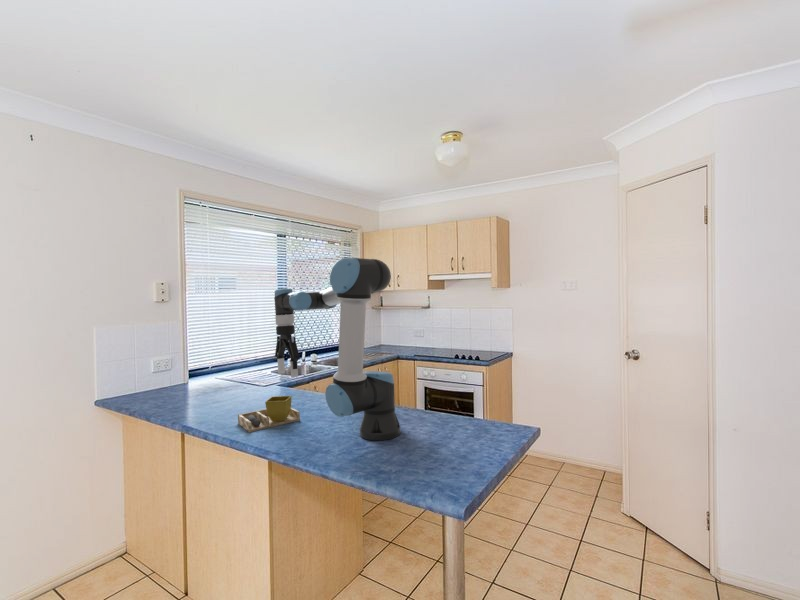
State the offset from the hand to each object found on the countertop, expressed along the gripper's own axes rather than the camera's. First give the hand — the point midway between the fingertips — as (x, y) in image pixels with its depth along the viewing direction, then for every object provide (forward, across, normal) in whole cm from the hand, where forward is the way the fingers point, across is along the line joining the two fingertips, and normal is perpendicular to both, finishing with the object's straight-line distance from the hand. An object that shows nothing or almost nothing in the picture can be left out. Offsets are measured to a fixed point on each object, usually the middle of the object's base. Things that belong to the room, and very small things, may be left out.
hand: (287, 375), depth 168 cm
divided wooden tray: (+19, +6, +7) cm, 21 cm away
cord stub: (+18, +5, +14) cm, 24 cm away
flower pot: (+19, +3, +4) cm, 19 cm away
